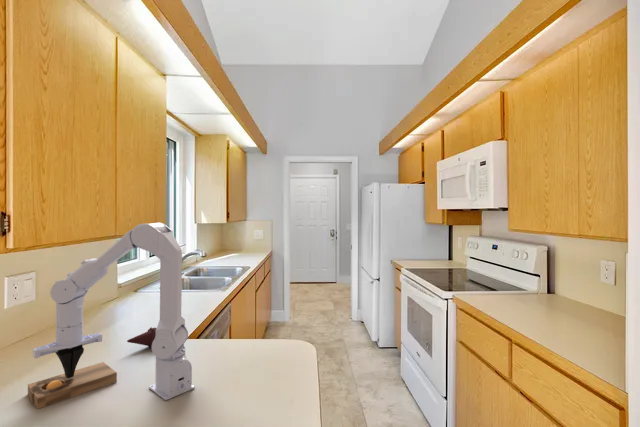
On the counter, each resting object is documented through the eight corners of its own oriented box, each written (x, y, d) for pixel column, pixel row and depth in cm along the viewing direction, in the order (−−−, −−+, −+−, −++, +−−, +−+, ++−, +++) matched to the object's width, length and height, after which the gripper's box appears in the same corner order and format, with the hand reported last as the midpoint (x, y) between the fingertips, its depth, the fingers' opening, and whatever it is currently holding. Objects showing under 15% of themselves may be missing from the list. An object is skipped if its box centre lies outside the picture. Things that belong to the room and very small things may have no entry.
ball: (44, 397, 84) (59, 398, 86) (51, 383, 84) (66, 384, 87) (42, 390, 86) (57, 391, 89) (49, 377, 87) (64, 378, 89)
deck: (116, 381, 93) (116, 372, 93) (36, 409, 80) (36, 399, 80) (103, 370, 100) (103, 361, 100) (26, 394, 86) (26, 384, 86)
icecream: (130, 337, 108) (179, 331, 118) (127, 325, 114) (174, 320, 124) (127, 357, 110) (176, 349, 119) (123, 344, 115) (170, 338, 125)
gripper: (96, 314, 97) (95, 362, 97) (30, 328, 86) (30, 381, 86) (105, 320, 93) (104, 369, 93) (37, 334, 81) (36, 391, 81)
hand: (69, 376), depth 89 cm, fingers closed
